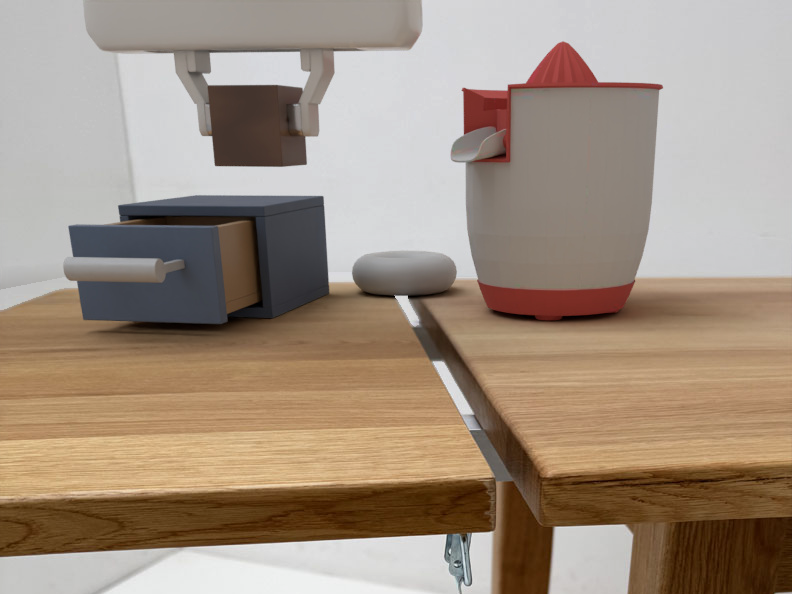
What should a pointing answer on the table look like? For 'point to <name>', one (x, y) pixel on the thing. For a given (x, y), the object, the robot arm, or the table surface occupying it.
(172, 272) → the drawer
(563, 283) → the citrus juicer
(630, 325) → the table surface
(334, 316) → the table surface
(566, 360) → the table surface
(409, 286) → the donut
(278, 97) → the block
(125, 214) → the cabinet
